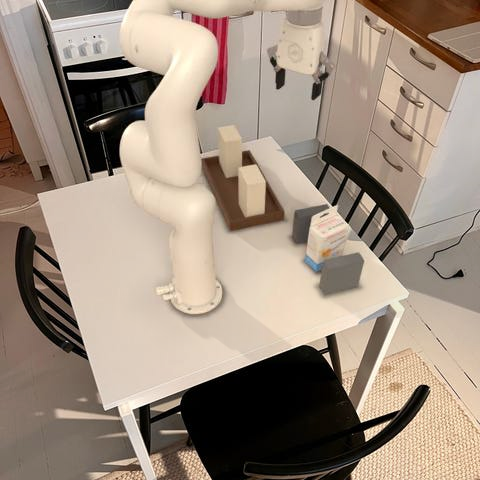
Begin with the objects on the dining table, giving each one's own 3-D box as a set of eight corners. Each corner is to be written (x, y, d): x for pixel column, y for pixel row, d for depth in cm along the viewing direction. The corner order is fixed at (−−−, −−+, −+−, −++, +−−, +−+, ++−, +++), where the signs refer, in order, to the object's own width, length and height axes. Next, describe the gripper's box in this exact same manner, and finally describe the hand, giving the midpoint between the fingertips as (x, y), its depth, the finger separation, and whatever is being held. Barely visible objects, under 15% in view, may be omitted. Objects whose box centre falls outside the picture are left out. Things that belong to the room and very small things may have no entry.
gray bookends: (323, 295, 121) (328, 268, 115) (291, 237, 135) (294, 210, 128) (357, 287, 123) (364, 260, 116) (322, 230, 136) (327, 203, 130)
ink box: (316, 273, 126) (323, 227, 115) (304, 261, 129) (310, 216, 117) (342, 260, 129) (352, 214, 118) (329, 249, 132) (338, 203, 120)
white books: (247, 221, 137) (247, 184, 128) (219, 163, 155) (217, 127, 146) (264, 218, 138) (265, 181, 129) (234, 160, 156) (234, 124, 147)
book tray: (229, 231, 136) (229, 222, 134) (201, 166, 156) (201, 158, 153) (283, 220, 139) (284, 211, 137) (249, 158, 159) (249, 150, 156)
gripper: (260, 11, 109) (258, 89, 122) (332, 29, 103) (322, 109, 116) (278, 1, 113) (274, 77, 126) (348, 17, 107) (336, 95, 120)
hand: (297, 92), depth 121 cm, fingers open, 9 cm apart
